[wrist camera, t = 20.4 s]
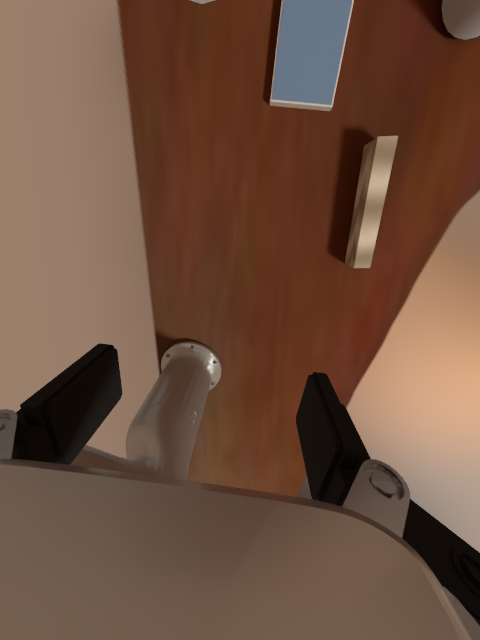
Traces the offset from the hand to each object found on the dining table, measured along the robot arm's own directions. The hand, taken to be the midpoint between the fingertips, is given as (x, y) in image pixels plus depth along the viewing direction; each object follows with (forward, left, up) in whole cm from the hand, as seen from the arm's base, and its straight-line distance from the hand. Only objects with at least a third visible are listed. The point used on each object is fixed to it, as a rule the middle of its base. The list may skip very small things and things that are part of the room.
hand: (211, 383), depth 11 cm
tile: (+22, -5, -30) cm, 38 cm away
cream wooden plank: (+11, -17, -31) cm, 37 cm away
